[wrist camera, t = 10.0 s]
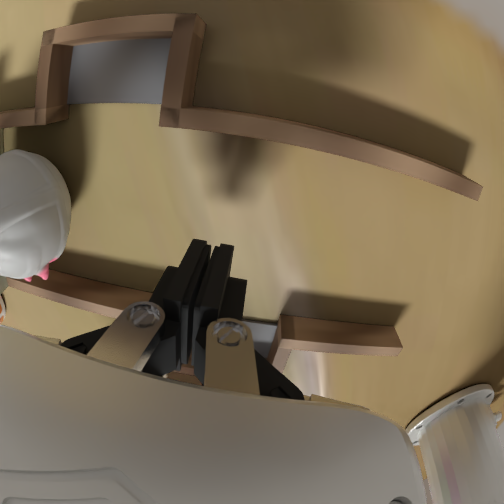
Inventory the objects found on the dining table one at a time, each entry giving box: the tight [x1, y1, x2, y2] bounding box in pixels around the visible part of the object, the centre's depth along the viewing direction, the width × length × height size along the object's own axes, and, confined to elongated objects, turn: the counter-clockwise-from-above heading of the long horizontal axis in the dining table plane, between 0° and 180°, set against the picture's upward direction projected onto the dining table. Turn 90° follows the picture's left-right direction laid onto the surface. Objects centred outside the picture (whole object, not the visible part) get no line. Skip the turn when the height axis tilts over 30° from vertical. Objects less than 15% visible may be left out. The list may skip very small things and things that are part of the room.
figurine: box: [0, 149, 71, 282], centre depth 11 cm, size 6×7×8 cm
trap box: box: [0, 13, 483, 376], centre depth 13 cm, size 28×20×4 cm
